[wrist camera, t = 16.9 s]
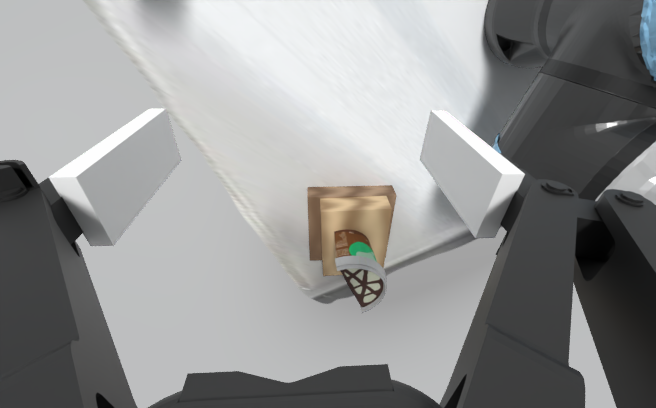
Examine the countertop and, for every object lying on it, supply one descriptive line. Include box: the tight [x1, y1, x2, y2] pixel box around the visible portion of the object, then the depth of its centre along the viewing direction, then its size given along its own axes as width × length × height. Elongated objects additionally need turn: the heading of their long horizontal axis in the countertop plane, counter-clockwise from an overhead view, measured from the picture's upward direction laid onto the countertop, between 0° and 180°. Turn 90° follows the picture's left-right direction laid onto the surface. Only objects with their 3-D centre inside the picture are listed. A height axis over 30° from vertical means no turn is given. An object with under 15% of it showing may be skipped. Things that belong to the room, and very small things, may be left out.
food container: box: [334, 229, 387, 313], centre depth 49 cm, size 12×6×10 cm, turn 22°
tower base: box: [308, 186, 396, 260], centre depth 58 cm, size 16×16×4 cm
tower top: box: [320, 196, 392, 276], centre depth 55 cm, size 12×16×4 cm
